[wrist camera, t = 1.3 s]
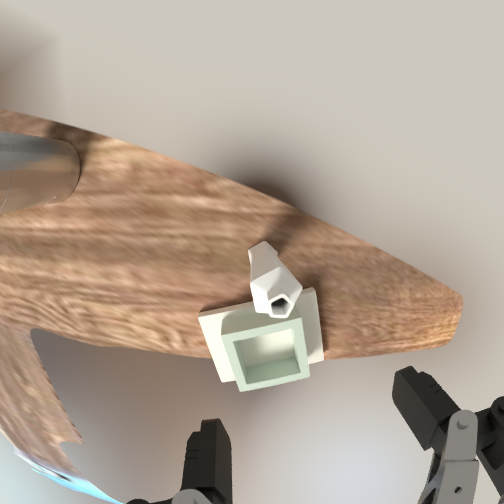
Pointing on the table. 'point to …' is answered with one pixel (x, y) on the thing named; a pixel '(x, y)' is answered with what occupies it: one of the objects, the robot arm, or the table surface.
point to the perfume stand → (264, 342)
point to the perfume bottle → (271, 282)
